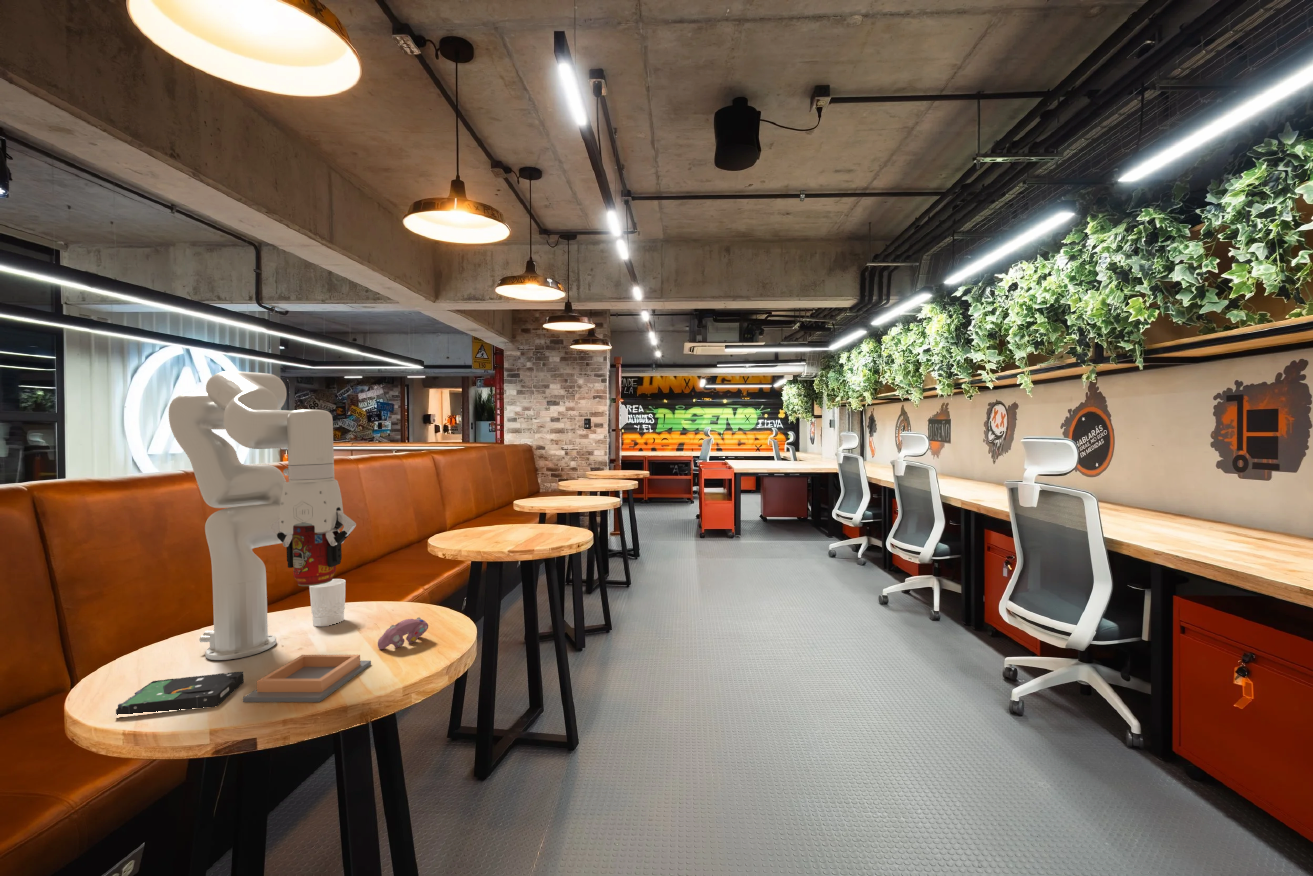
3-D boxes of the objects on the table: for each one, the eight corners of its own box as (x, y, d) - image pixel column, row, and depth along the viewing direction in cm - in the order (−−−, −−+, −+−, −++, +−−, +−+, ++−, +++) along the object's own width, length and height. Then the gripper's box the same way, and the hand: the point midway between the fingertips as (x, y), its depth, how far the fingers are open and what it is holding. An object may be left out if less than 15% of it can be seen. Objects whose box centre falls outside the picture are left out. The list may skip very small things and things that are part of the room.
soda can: (284, 586, 106) (282, 521, 106) (315, 577, 113) (313, 516, 113) (315, 588, 104) (313, 521, 104) (344, 578, 111) (343, 516, 111)
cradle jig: (243, 701, 99) (242, 686, 99) (304, 664, 115) (304, 651, 115) (319, 702, 98) (319, 686, 98) (370, 664, 114) (370, 650, 114)
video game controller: (384, 659, 121) (391, 633, 119) (374, 646, 123) (380, 620, 121) (426, 645, 129) (433, 620, 127) (416, 632, 131) (423, 608, 129)
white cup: (353, 618, 145) (352, 579, 145) (329, 628, 137) (328, 587, 137) (328, 616, 146) (326, 578, 146) (302, 626, 139) (301, 586, 139)
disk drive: (244, 685, 108) (152, 694, 104) (244, 670, 108) (152, 679, 104) (217, 710, 98) (114, 722, 94) (217, 694, 98) (113, 705, 94)
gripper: (253, 476, 105) (256, 571, 105) (344, 474, 104) (347, 569, 104) (281, 473, 112) (284, 562, 112) (366, 471, 112) (369, 560, 112)
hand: (314, 565), depth 108 cm, fingers closed on soda can, 7 cm apart
